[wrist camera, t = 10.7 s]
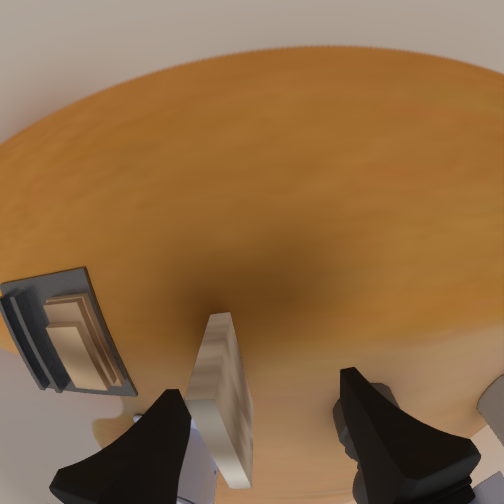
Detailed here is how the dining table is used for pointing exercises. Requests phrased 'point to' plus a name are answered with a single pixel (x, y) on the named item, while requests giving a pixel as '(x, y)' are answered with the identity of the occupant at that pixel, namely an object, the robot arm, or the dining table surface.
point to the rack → (36, 320)
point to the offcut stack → (81, 342)
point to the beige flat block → (223, 402)
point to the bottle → (494, 407)
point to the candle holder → (347, 442)
